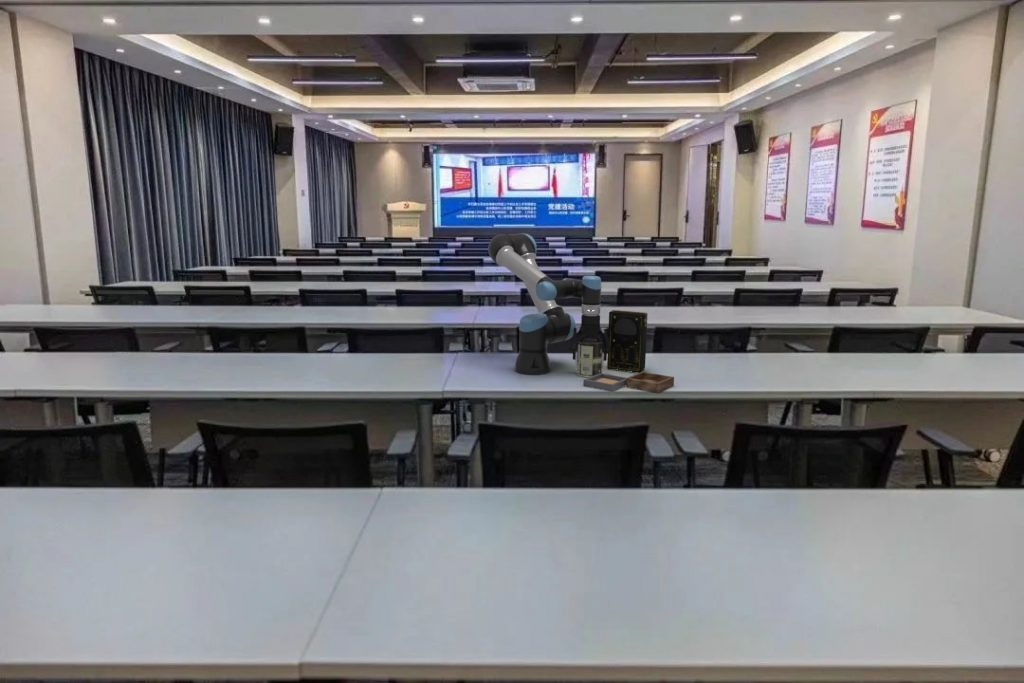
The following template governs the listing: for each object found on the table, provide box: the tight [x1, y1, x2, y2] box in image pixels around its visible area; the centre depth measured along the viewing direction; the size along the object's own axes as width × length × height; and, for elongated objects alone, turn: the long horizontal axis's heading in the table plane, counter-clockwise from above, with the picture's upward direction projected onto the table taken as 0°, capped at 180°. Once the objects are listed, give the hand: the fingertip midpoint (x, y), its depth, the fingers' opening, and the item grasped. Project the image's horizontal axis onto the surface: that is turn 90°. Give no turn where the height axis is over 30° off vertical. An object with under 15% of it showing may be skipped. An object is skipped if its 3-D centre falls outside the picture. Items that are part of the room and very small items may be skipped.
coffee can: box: [576, 338, 604, 378], centre depth 281 cm, size 10×10×14 cm
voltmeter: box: [606, 309, 648, 374], centre depth 288 cm, size 16×9×25 cm, turn 62°
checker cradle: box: [582, 372, 627, 393], centre depth 266 cm, size 13×13×2 cm
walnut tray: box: [625, 371, 675, 394], centre depth 264 cm, size 14×14×4 cm
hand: (589, 367), depth 282 cm, fingers closed on coffee can, 10 cm apart
